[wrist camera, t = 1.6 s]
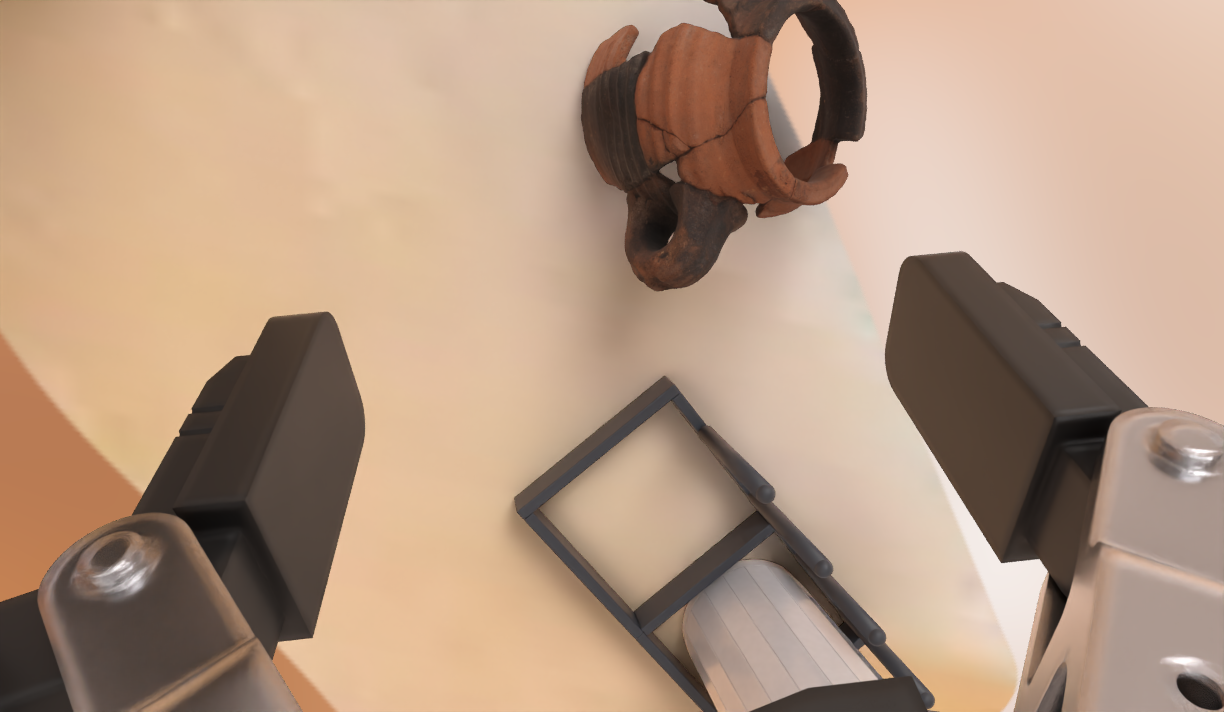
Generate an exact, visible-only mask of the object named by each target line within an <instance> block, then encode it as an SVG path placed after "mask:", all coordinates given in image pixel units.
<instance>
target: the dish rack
mask: <svg viewBox="0 0 1224 712" xmlns="http://www.w3.org/2000/svg"><path fill="white" fill-rule="evenodd" d="M670 400H671V402H672V403H673V404H674V405H675V407H676V408H677V409H678V410H679V412H680V413H681V414H682V416H683V417H684V418H685V419H686V421H687V422H688V423H689V424H690V426H691V427H692V428H693V429H694V431H695V432H696V433H697V435H698V436H699V438H700V439H701V440H702V441H703V443H704V444H705V445H706V446H707V447H708V448H709V450H710V451H711V452H712V453H713V455H714V456H715V457H716V459H717V460H718V461H719V462H720V464H721V465H722V466H723V467H724V469H725V470H726V471H727V472H728V474H729V475H730V476H731V478H732V479H733V480H734V481H735V483H736V484H737V485H738V486H739V488H740V489H741V490H742V491H743V493H744V494H745V495H746V496H747V498H748V499H749V501H750V503H751V504H752V505H753V506H754V507H755V508H756V509H757V510H758V511H756V512H755V513H754V514H753V515H751V516H750V517H749V518H748V519H747V520H745V521H744V522H743V523H742V524H740V525H739V526H738V527H737V528H736V529H734V530H733V531H732V532H731V533H729V534H728V535H727V536H726V537H724V538H723V539H722V540H721V541H720V542H718V543H717V544H716V545H715V546H713V547H712V548H711V549H710V550H709V551H707V552H706V553H705V554H704V555H702V556H701V557H700V558H699V559H698V560H696V561H695V562H694V563H693V564H691V565H690V566H689V567H688V568H687V569H685V570H684V571H683V572H682V573H680V574H679V575H678V576H677V577H676V578H674V579H673V580H672V581H671V582H669V583H668V584H667V585H666V586H665V587H663V588H662V589H661V590H660V591H658V592H657V593H656V594H655V595H654V596H652V597H651V598H650V599H649V600H647V601H646V602H645V603H644V604H643V605H641V606H640V607H639V608H638V609H636V610H635V611H634V612H633V611H632V610H631V609H630V608H629V606H628V605H627V604H626V603H625V602H624V601H623V600H622V599H621V598H620V597H619V596H618V595H617V593H616V592H615V591H614V590H613V589H612V588H611V587H610V586H609V585H608V584H607V583H606V582H605V580H604V579H603V578H602V577H601V576H600V575H599V574H598V573H597V572H596V571H595V570H594V568H593V567H592V566H591V565H590V564H589V563H588V562H587V561H586V560H585V559H584V558H583V557H582V555H581V554H580V553H579V552H578V551H577V550H576V549H575V548H574V547H573V546H572V545H571V543H570V542H569V541H568V540H567V539H566V538H565V537H564V536H563V535H562V534H561V533H560V532H559V530H558V529H557V528H556V527H555V526H554V525H553V524H552V523H551V522H550V521H549V520H548V518H547V517H546V516H545V515H544V514H543V513H542V512H541V511H540V510H539V509H538V508H539V507H540V506H541V505H543V504H544V503H545V502H546V501H547V500H549V499H550V498H551V497H552V496H554V495H555V494H556V493H557V492H559V491H560V490H561V489H562V488H563V487H565V486H566V485H567V484H568V483H570V482H571V481H572V480H573V479H575V478H576V477H577V476H578V475H579V474H581V473H582V472H583V471H584V470H586V469H587V468H588V467H589V466H591V465H592V464H593V463H594V462H595V461H597V460H598V459H599V458H600V457H602V456H603V455H604V454H605V453H607V452H608V451H609V450H610V449H611V448H613V447H614V446H615V445H616V444H618V443H619V442H620V441H621V440H622V439H624V438H625V437H626V436H627V435H629V434H630V433H631V432H632V431H634V430H635V429H636V428H637V427H638V426H640V425H641V424H642V423H643V422H645V421H646V420H647V419H648V418H650V417H651V416H652V415H653V414H654V413H656V412H657V411H658V410H659V409H661V408H662V407H663V406H664V405H666V404H667V403H668V402H669V401H670ZM774 498H775V490H774V488H773V487H772V486H771V485H770V484H769V483H768V482H767V481H766V480H765V479H764V478H763V477H762V476H761V475H760V474H759V473H758V472H757V471H756V470H755V469H754V468H753V467H752V466H751V465H750V464H749V463H748V462H746V461H745V460H744V459H743V458H742V457H741V456H740V455H739V454H738V453H737V452H736V451H735V450H734V449H733V448H732V447H731V446H730V445H729V444H728V443H727V442H726V441H725V440H724V439H723V438H722V437H721V436H720V435H719V434H718V433H717V432H716V431H715V430H714V429H713V428H712V427H710V426H707V425H706V424H705V423H704V421H703V420H702V419H701V418H700V416H699V415H698V414H697V413H696V411H695V410H694V409H693V407H692V406H691V405H690V404H689V402H688V401H687V400H686V398H685V397H684V396H683V395H682V393H681V392H680V391H679V389H678V388H677V387H676V386H675V384H674V383H672V382H671V381H670V380H669V379H668V378H667V377H666V376H664V377H662V378H661V379H660V380H659V381H658V382H656V383H655V384H654V385H653V386H651V387H650V388H649V389H648V390H646V391H645V392H644V393H643V394H642V395H640V396H639V397H638V398H637V399H635V400H634V401H633V402H632V403H630V404H629V405H628V406H627V407H626V408H624V409H623V410H622V411H621V412H619V413H618V414H617V415H616V416H614V417H613V418H612V419H611V420H610V421H608V422H607V423H606V424H605V425H603V426H602V427H601V428H600V429H598V430H597V431H596V432H595V433H594V434H592V435H591V436H590V437H589V438H587V439H586V440H585V441H584V442H582V443H581V444H580V445H579V446H578V447H576V448H575V449H574V450H573V451H571V452H570V453H569V454H568V455H566V456H565V457H564V458H563V459H562V460H560V461H559V462H558V463H557V464H555V465H554V466H553V467H552V468H550V469H549V470H548V471H547V472H546V473H544V474H543V475H542V476H541V477H539V478H538V479H537V480H536V481H534V482H533V483H532V484H531V485H530V486H528V487H527V488H526V489H525V490H523V491H522V492H521V493H520V494H518V495H517V496H516V497H515V498H514V500H515V505H516V510H517V513H518V514H519V515H520V516H521V517H522V518H523V519H524V520H525V522H526V523H527V524H528V525H529V526H530V527H531V528H532V529H533V530H534V531H535V532H536V533H537V534H538V535H539V537H540V538H541V539H542V540H543V541H544V542H545V543H546V544H547V545H548V546H549V547H550V548H551V549H552V550H553V552H554V553H555V554H556V555H557V556H558V557H559V558H560V559H561V560H562V561H563V562H564V563H565V564H566V565H567V566H568V568H569V569H570V570H571V571H572V572H573V573H574V574H575V575H576V576H577V577H578V578H579V579H580V580H581V581H582V583H583V584H584V585H585V586H586V587H587V588H588V589H589V590H590V591H591V592H592V593H593V594H594V595H595V596H596V597H597V599H598V600H599V601H600V602H601V603H602V604H603V605H604V606H605V607H606V608H607V609H608V610H609V611H610V612H611V614H612V615H613V616H614V617H615V618H616V619H617V620H618V621H619V622H620V623H621V624H622V625H623V626H624V627H625V628H626V630H627V631H628V632H629V633H630V634H631V635H632V636H633V637H634V638H635V639H636V640H637V641H638V642H639V643H640V645H641V646H642V647H643V648H644V649H645V650H646V651H647V652H648V653H649V654H650V655H651V656H652V657H653V658H654V659H655V661H656V662H657V663H658V664H659V665H660V666H661V667H662V668H663V669H664V670H665V671H666V672H667V673H668V674H669V676H670V677H671V678H672V679H673V680H674V681H675V682H676V683H677V684H678V685H679V686H680V687H681V688H682V689H683V690H684V692H685V693H686V694H687V695H688V696H689V697H690V698H691V699H692V700H693V701H694V702H695V703H696V704H697V705H698V707H699V708H700V709H701V710H702V711H703V712H718V711H717V709H716V707H715V705H714V703H713V701H712V699H711V697H710V695H709V693H708V692H707V691H706V690H705V689H704V688H703V687H702V686H701V685H700V684H699V683H698V681H697V680H696V679H695V678H694V677H693V676H692V675H691V674H690V673H689V672H688V671H687V669H686V668H685V667H684V666H683V665H682V664H681V663H680V662H679V661H678V660H677V659H676V658H675V656H674V655H673V654H672V653H671V652H670V651H669V650H668V649H667V648H666V647H665V646H664V645H663V643H662V642H661V641H660V640H659V639H658V638H657V637H656V636H655V635H654V634H653V633H652V632H653V631H654V630H655V629H656V628H657V627H659V626H660V625H661V624H662V623H664V622H665V621H666V620H667V619H668V618H670V617H671V616H672V615H673V614H675V613H676V612H677V611H678V610H679V609H681V608H682V607H683V606H684V605H686V604H687V603H688V602H689V601H690V600H692V599H693V598H694V597H695V596H697V595H698V594H699V593H700V592H701V591H703V590H704V589H705V588H706V587H708V586H709V585H710V584H711V583H712V582H714V581H715V580H716V579H717V578H719V577H720V576H721V575H722V574H723V573H725V572H726V571H727V570H728V569H730V568H731V567H732V566H733V565H734V564H736V563H737V562H738V561H739V560H741V559H742V558H743V557H744V556H745V555H747V554H748V553H749V552H750V551H752V550H753V549H754V548H755V547H756V546H758V545H759V544H760V543H761V542H763V541H764V540H765V539H766V538H767V537H769V536H770V535H771V534H772V533H774V532H775V533H776V534H777V536H778V537H779V538H780V540H781V541H782V542H783V543H784V545H785V546H786V547H787V548H788V550H789V551H790V552H791V553H792V555H793V556H794V557H795V559H796V561H797V562H798V563H799V564H800V565H801V566H802V568H803V569H804V570H805V571H806V572H807V574H808V575H809V576H810V577H811V579H812V580H813V581H814V583H815V584H816V585H817V586H818V588H819V589H820V590H821V591H822V593H823V594H824V595H825V596H826V598H827V599H828V600H829V602H830V603H831V604H832V605H833V607H834V608H835V609H836V610H837V612H838V613H839V615H840V616H841V618H842V619H843V620H844V621H845V622H844V623H843V624H842V625H841V626H839V628H840V629H841V631H842V632H843V633H844V634H845V635H846V636H847V638H848V639H849V640H850V641H851V642H852V643H853V645H854V646H855V647H856V648H857V649H860V648H861V647H862V646H863V645H864V644H865V645H866V646H867V647H868V648H869V649H870V650H871V652H872V653H873V654H874V655H875V656H876V657H877V658H878V660H879V661H880V662H881V663H882V664H883V665H884V666H885V667H886V669H887V670H888V671H889V672H890V673H891V674H892V675H893V677H894V678H896V677H905V676H912V677H913V679H914V682H915V684H916V686H917V688H918V691H919V693H920V695H921V697H922V700H923V702H924V704H925V706H926V709H930V708H931V707H933V705H934V703H935V699H934V696H933V695H932V693H931V692H930V691H929V690H928V689H927V688H926V687H925V686H924V685H923V684H922V682H921V681H920V680H919V679H918V678H917V677H916V676H915V675H914V674H913V673H912V672H911V671H910V669H909V668H908V667H907V666H906V665H905V664H904V663H903V662H902V661H901V660H900V659H899V658H898V657H897V655H896V654H895V653H894V652H893V651H892V650H891V649H890V648H889V647H888V646H887V645H886V644H885V641H886V634H885V632H884V631H883V630H882V629H881V628H880V627H879V626H878V624H877V623H876V622H875V621H874V620H873V619H872V618H871V617H870V616H869V615H868V614H867V613H866V612H865V611H864V610H863V609H862V608H861V607H860V605H859V604H858V603H857V602H856V601H855V600H854V599H853V598H852V597H851V596H850V595H849V594H848V593H847V592H846V591H845V590H844V589H843V588H842V586H841V585H840V584H839V583H838V582H837V581H836V580H835V579H834V578H833V577H832V576H831V574H832V572H833V566H832V564H831V562H830V561H829V560H828V559H827V558H826V557H825V556H824V555H823V554H822V553H821V552H820V551H819V550H818V549H817V548H816V547H815V546H814V545H813V544H812V543H811V542H810V541H809V540H808V539H807V538H806V536H805V535H804V534H803V533H802V532H801V531H800V530H799V529H798V528H797V527H796V526H795V525H794V524H793V523H792V522H791V521H790V520H789V519H788V518H787V517H786V516H785V515H784V514H783V513H782V512H781V511H780V510H779V509H778V508H777V507H776V506H775V505H774V504H773V503H772V501H773V500H774Z"/></svg>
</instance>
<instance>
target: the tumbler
mask: <svg viewBox="0 0 1224 712" xmlns="http://www.w3.org/2000/svg"><path fill="white" fill-rule="evenodd" d="M682 629H683V638H684V642H685V645H686V648H687V650H688V653H689V655H690V657H691V659H692V661H693V663H694V665H695V667H696V669H697V671H698V673H699V675H700V677H701V679H702V681H703V683H704V685H705V687H706V689H707V691H708V693H709V695H710V697H711V699H712V701H713V703H714V705H715V707H716V709H717V711H718V712H749V711H752V710H754V709H757V708H759V707H762V706H764V705H767V704H769V703H772V702H774V701H777V700H779V699H782V698H784V697H787V696H789V695H792V694H794V693H796V692H799V691H801V690H804V689H806V688H811V687H819V686H828V685H836V684H845V683H853V682H862V681H871V680H879V679H883V678H882V677H881V676H880V675H879V674H878V673H877V671H876V670H875V669H874V668H873V667H872V666H871V664H870V663H869V662H868V661H867V660H866V659H865V657H864V656H863V655H862V654H861V653H860V652H859V650H858V649H857V648H856V647H855V646H854V645H853V643H852V642H851V641H850V640H849V639H848V638H847V636H846V635H845V634H844V633H843V632H842V631H841V629H840V628H839V627H838V626H837V625H836V624H835V622H834V621H833V620H832V619H831V618H830V617H829V615H828V614H827V613H826V612H825V611H824V610H823V608H822V607H821V606H820V605H819V604H818V602H817V601H816V600H815V599H814V598H813V597H812V595H811V594H810V593H809V592H808V591H807V590H806V588H805V587H804V586H803V585H802V584H801V583H800V582H799V581H798V580H797V579H796V578H795V577H794V576H793V575H792V574H791V573H790V572H789V571H788V570H787V569H785V568H784V567H782V566H780V565H778V564H776V563H773V562H770V561H766V560H758V559H750V560H742V561H738V562H737V563H736V564H734V565H733V566H732V567H731V568H730V569H728V570H727V571H726V572H725V573H723V574H722V575H721V576H720V577H719V578H717V579H716V580H715V581H714V582H712V583H711V584H710V585H709V586H708V587H706V588H705V589H704V590H703V591H701V592H700V593H699V594H698V595H697V596H695V597H694V598H693V599H692V600H690V601H689V602H688V604H687V607H686V609H685V613H684V617H683V625H682Z"/></svg>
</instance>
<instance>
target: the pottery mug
mask: <svg viewBox="0 0 1224 712" xmlns="http://www.w3.org/2000/svg"><path fill="white" fill-rule="evenodd" d="M704 1H705V2H707V3H711V4H714V5H718V9H719V11H720V12H721V13H722V14H723V16H724V18H725V20H726V21H727V23H728V26H729V31H730V33H731V37H732V38H727V37H725V36H724V35H722V34H720V33H718V32H711V31H709V30H707V29H705V28H701V27H697V26H693V25H691V24H687V23H681V24H680V25H678V26H677V27H673V28H671V29H669V30H667V31H666V32H664V33H663V34H662V35H661V36H660V38H659V40H658V42H657V44H656V45H655V47H654V50H653V52H652V53H650V52H647V51H644V52H642V53H641V54H638V55H636V56H634V57H632V58H631V59H630V60H629V61H626V58H627V56H628V54H629V51H630V49H631V48H632V46H633V43H634V42H635V40H636V38H637V36H638V34H639V32H638V30H637V28H636V27H635V26H633V25H628V26H625V27H623V28H622V29H620V30H619V31H618V32H616V33H615V34H614V35H613V36H612V37H611V38H610V39H607V40H605V41H604V42H602V43H601V44H600V46H599V48H598V49H597V51H596V52H595V54H594V55H593V58H592V60H591V62H590V65H589V67H588V70H587V74H586V79H585V82H584V89H583V93H582V114H581V120H582V126H583V131H584V139H585V143H586V146H587V150H588V153H589V155H590V157H591V159H592V161H593V162H594V164H595V166H596V168H597V170H598V172H599V173H600V175H601V176H602V178H603V179H604V180H605V182H606V183H607V184H609V185H613V186H616V187H617V188H618V189H620V190H623V191H624V192H625V193H627V204H628V221H627V229H626V233H625V252H626V255H627V258H628V261H629V262H630V264H631V267H632V270H633V272H634V274H635V275H636V276H637V278H638V279H639V280H640V281H641V282H644V283H645V284H646V285H647V286H648V287H649V288H651V289H653V290H654V291H663V290H668V289H677V288H683V287H688V286H690V285H692V284H694V283H695V282H697V281H699V280H700V279H701V278H702V277H704V275H706V274H707V273H708V271H709V270H710V269H711V267H712V266H713V265H714V263H715V262H716V260H717V258H718V256H719V253H720V251H721V249H722V247H723V245H724V243H725V241H726V239H727V238H728V236H729V235H730V233H732V232H734V231H736V230H737V229H739V228H740V227H742V226H743V225H744V224H745V222H746V220H747V217H748V213H747V209H746V208H745V207H744V206H743V204H755V203H759V205H758V207H757V208H756V216H757V217H759V218H767V217H774V216H778V215H782V214H786V213H789V212H791V211H793V210H795V209H797V208H798V207H799V206H801V205H817V204H821V203H823V202H824V201H827V200H828V199H829V198H831V197H833V196H834V195H835V194H836V193H837V192H838V190H839V189H840V188H841V187H842V186H843V185H844V183H845V181H846V180H847V177H848V172H847V169H846V166H845V165H843V164H833V162H834V159H835V154H836V150H837V146H838V143H839V142H840V141H858V140H860V139H861V138H862V136H863V134H864V131H865V121H866V112H867V105H866V104H867V88H866V77H865V68H864V64H863V60H862V55H861V52H860V51H859V45H858V41H857V38H856V35H855V30H854V28H853V26H852V24H851V23H850V22H849V19H848V17H847V15H846V13H845V10H844V9H843V8H842V7H841V5H840V4H839V3H838V2H837V0H704ZM794 13H795V14H796V16H797V18H798V19H799V21H800V23H801V25H802V27H803V28H804V30H805V31H806V33H807V35H808V36H809V37H810V39H811V40H812V42H813V44H814V45H813V46H812V54H813V59H814V62H815V66H816V70H817V74H818V78H819V86H820V92H821V93H820V94H821V95H820V96H821V97H820V105H819V111H818V116H817V120H816V123H815V129H814V133H813V136H812V142H811V143H810V144H809V145H807V146H806V147H803V148H801V149H800V150H798V151H796V152H795V153H793V154H791V155H789V156H788V157H787V158H786V160H785V162H784V161H783V160H782V158H781V156H780V153H779V151H778V149H777V146H776V144H775V141H774V137H773V134H772V130H771V126H770V122H769V113H768V106H767V101H766V98H765V97H766V93H767V76H768V69H769V62H770V57H771V53H772V44H773V41H774V40H775V38H776V36H777V35H778V33H779V31H780V29H781V27H782V26H783V24H784V23H785V21H786V20H787V19H788V18H789V17H790V16H791V15H792V14H794ZM673 161H676V163H677V170H678V175H679V177H680V179H681V182H677V183H675V182H674V181H673V180H671V179H669V178H667V177H666V176H664V175H662V174H661V173H660V169H661V168H662V167H663V166H665V165H667V164H669V163H672V162H673ZM672 233H674V235H673V237H672V239H671V240H670V242H669V243H668V240H669V238H670V236H671V235H672ZM667 243H668V244H667Z"/></svg>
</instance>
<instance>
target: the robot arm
mask: <svg viewBox="0 0 1224 712" xmlns="http://www.w3.org/2000/svg"><path fill="white" fill-rule="evenodd" d="M885 364H886V371H887V376H888V379H889V382H890V385H891V387H892V389H893V391H894V392H895V394H896V396H897V397H898V399H899V400H900V402H901V404H902V405H903V407H904V408H905V410H906V412H907V413H908V415H909V416H910V418H911V420H912V421H913V423H914V424H915V426H916V428H917V429H918V431H919V432H920V434H921V436H922V437H923V439H924V440H925V442H926V444H927V445H928V447H929V448H930V450H931V452H932V453H933V455H934V456H935V458H936V460H937V461H938V463H939V464H940V466H941V468H942V469H943V471H944V472H945V474H946V475H947V477H948V479H949V480H950V482H951V484H952V485H953V487H954V488H955V490H956V491H957V493H958V495H959V496H960V498H961V499H962V501H963V503H964V504H965V506H966V508H967V509H968V511H969V512H970V514H971V516H972V517H973V519H974V520H975V522H976V523H977V525H978V527H979V528H980V530H981V531H982V533H983V535H984V536H985V538H986V540H987V541H988V543H989V544H990V546H991V547H992V549H993V551H994V552H995V554H996V555H997V557H998V559H999V560H1000V562H1001V563H1007V562H1016V561H1024V560H1033V559H1040V560H1041V561H1042V563H1043V565H1044V566H1045V568H1046V569H1047V570H1048V573H1047V575H1046V577H1045V580H1044V582H1043V584H1042V587H1041V590H1040V594H1039V599H1038V604H1037V608H1036V613H1035V617H1034V622H1033V627H1032V631H1031V636H1030V641H1029V645H1028V650H1027V654H1026V659H1025V663H1024V668H1023V672H1022V677H1021V681H1020V686H1019V691H1018V696H1017V700H1016V704H1015V708H1014V712H1224V426H1223V425H1221V424H1219V423H1217V422H1215V421H1212V420H1210V419H1207V418H1204V417H1202V416H1199V415H1196V414H1192V413H1189V412H1185V411H1180V410H1176V409H1169V408H1157V407H1148V406H1147V405H1146V404H1145V403H1144V402H1143V401H1142V400H1141V399H1140V398H1139V397H1138V396H1137V395H1136V394H1135V393H1134V392H1133V391H1132V390H1131V389H1130V388H1129V387H1127V386H1126V384H1124V383H1123V382H1122V381H1121V380H1120V379H1119V378H1118V377H1117V376H1116V375H1115V374H1114V373H1113V372H1112V371H1111V370H1110V369H1109V368H1108V367H1107V366H1106V365H1105V364H1104V363H1103V362H1102V361H1101V360H1100V359H1099V358H1098V357H1096V356H1095V355H1094V354H1093V353H1092V352H1091V351H1090V350H1089V349H1088V348H1087V347H1086V346H1081V345H1080V340H1079V339H1078V338H1077V337H1076V336H1075V335H1074V334H1073V333H1072V332H1071V331H1070V330H1069V329H1068V328H1067V327H1061V322H1060V321H1059V320H1058V319H1057V318H1056V317H1055V316H1054V315H1053V314H1052V313H1051V312H1050V311H1049V310H1048V309H1047V308H1046V307H1045V306H1044V305H1043V304H1042V303H1041V302H1040V301H1039V300H1037V299H1035V298H1033V297H1031V296H1029V295H1028V294H1025V293H1024V292H1021V291H1020V290H1018V289H1016V288H1014V287H1012V286H1010V285H1008V284H1006V283H1004V282H1000V283H996V282H995V281H994V280H993V279H992V278H991V277H990V276H989V275H988V273H986V271H985V270H984V269H983V268H982V267H981V266H980V265H979V264H978V263H977V262H976V261H975V260H974V259H973V258H972V257H971V256H970V255H969V254H967V253H965V252H962V251H959V252H948V253H939V254H928V255H918V256H910V257H908V258H906V259H905V260H904V262H903V264H902V265H901V268H900V272H899V277H898V281H897V287H896V292H895V298H894V303H893V309H892V314H891V320H890V325H889V331H888V336H887V342H886V348H885ZM179 433H180V436H179V437H175V439H174V441H173V443H172V445H171V446H170V448H169V450H168V452H167V453H166V455H165V457H164V459H163V461H162V462H161V464H160V466H159V468H158V469H157V471H156V473H155V475H154V477H153V478H152V480H151V482H150V484H149V485H148V487H147V489H146V491H145V493H144V494H143V496H142V498H141V500H140V502H139V503H138V505H137V507H136V509H135V510H134V512H133V514H132V516H129V517H125V518H122V519H119V520H116V521H113V522H111V523H109V524H106V525H104V526H102V527H100V528H98V529H96V530H94V531H93V532H91V533H89V534H87V535H86V536H84V537H83V538H81V539H80V540H78V541H77V542H76V543H74V544H73V545H72V546H71V547H70V548H68V549H67V550H66V551H65V552H64V553H63V554H62V555H61V556H60V557H59V558H58V559H57V560H56V561H55V562H54V563H53V565H52V566H51V567H50V568H49V570H48V571H47V573H46V575H45V576H44V578H43V580H42V582H41V585H40V588H39V589H37V590H34V591H31V592H29V593H26V594H23V595H20V596H17V597H14V598H11V599H8V600H5V601H2V602H0V712H303V711H302V710H301V708H300V706H299V705H298V703H297V701H296V700H295V698H294V696H293V695H292V693H291V691H290V690H289V688H288V686H287V685H286V683H285V681H284V680H283V678H282V677H281V675H280V673H279V672H278V670H277V668H276V667H275V665H274V663H273V662H272V660H273V656H274V653H275V650H276V646H277V643H278V642H280V641H289V640H298V639H307V638H313V634H314V630H315V627H316V623H317V619H318V615H319V611H320V607H321V604H322V600H323V596H324V592H325V588H326V585H327V581H328V577H329V573H330V569H331V565H332V562H333V558H334V554H335V550H336V546H337V542H338V539H339V535H340V531H341V527H342V523H343V519H344V516H345V512H346V508H347V504H348V500H349V497H350V493H351V489H352V485H353V481H354V477H355V474H356V470H357V466H358V462H359V458H360V454H361V451H362V447H363V443H364V436H365V417H364V409H363V404H362V400H361V396H360V393H359V390H358V387H357V384H356V381H355V378H354V375H353V371H352V368H351V365H350V362H349V359H348V356H347V353H346V350H345V347H344V344H343V341H342V338H341V335H340V332H339V328H338V326H337V323H336V321H335V319H334V317H333V316H332V315H331V314H330V313H329V312H318V313H308V314H297V315H287V316H277V317H272V318H270V319H269V320H268V322H267V323H266V325H265V327H264V329H263V331H262V333H261V335H260V337H259V339H258V341H257V343H256V345H255V347H254V349H253V351H252V353H251V355H246V356H236V357H235V358H233V359H232V360H231V361H230V362H229V363H228V364H227V365H225V366H224V367H223V368H222V369H221V370H220V371H218V372H217V373H216V374H215V375H214V376H213V377H212V378H210V379H209V380H208V381H207V382H206V384H205V386H204V388H203V389H202V391H201V393H200V395H199V397H198V398H197V400H196V402H195V404H194V405H193V407H192V414H188V416H187V418H186V420H185V421H184V423H183V425H182V427H181V429H180V430H179ZM749 712H938V711H931V710H927V709H926V706H925V704H924V702H923V700H922V697H921V695H920V693H919V691H918V688H917V686H916V684H915V682H914V679H913V677H912V676H905V677H896V678H888V679H879V680H871V681H862V682H853V683H845V684H836V685H828V686H819V687H811V688H806V689H804V690H801V691H799V692H796V693H794V694H792V695H789V696H787V697H784V698H782V699H779V700H777V701H774V702H772V703H769V704H767V705H764V706H762V707H759V708H757V709H754V710H752V711H749Z"/></svg>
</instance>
